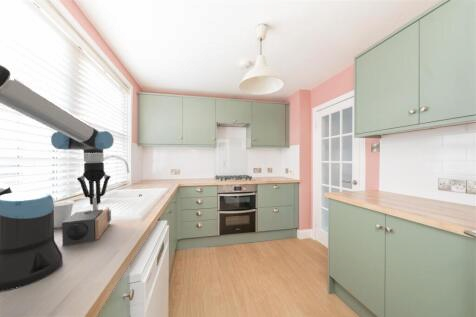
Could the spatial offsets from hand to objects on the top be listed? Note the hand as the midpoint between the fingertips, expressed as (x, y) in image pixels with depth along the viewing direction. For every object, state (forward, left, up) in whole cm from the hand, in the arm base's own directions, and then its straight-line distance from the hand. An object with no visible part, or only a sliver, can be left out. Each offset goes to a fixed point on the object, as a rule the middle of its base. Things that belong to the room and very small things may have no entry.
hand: (95, 210), depth 90 cm
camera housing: (-11, +1, -8) cm, 14 cm away
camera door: (-8, -5, -7) cm, 12 cm away
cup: (+9, +16, -8) cm, 20 cm away
